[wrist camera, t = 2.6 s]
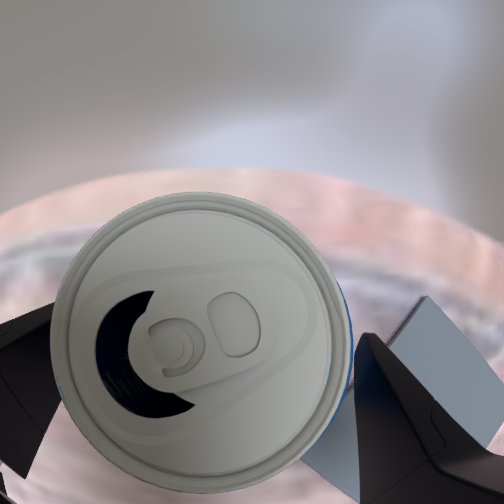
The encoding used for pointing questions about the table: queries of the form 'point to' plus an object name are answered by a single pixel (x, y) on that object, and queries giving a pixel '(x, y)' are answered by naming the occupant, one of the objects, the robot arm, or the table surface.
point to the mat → (433, 379)
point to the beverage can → (201, 342)
